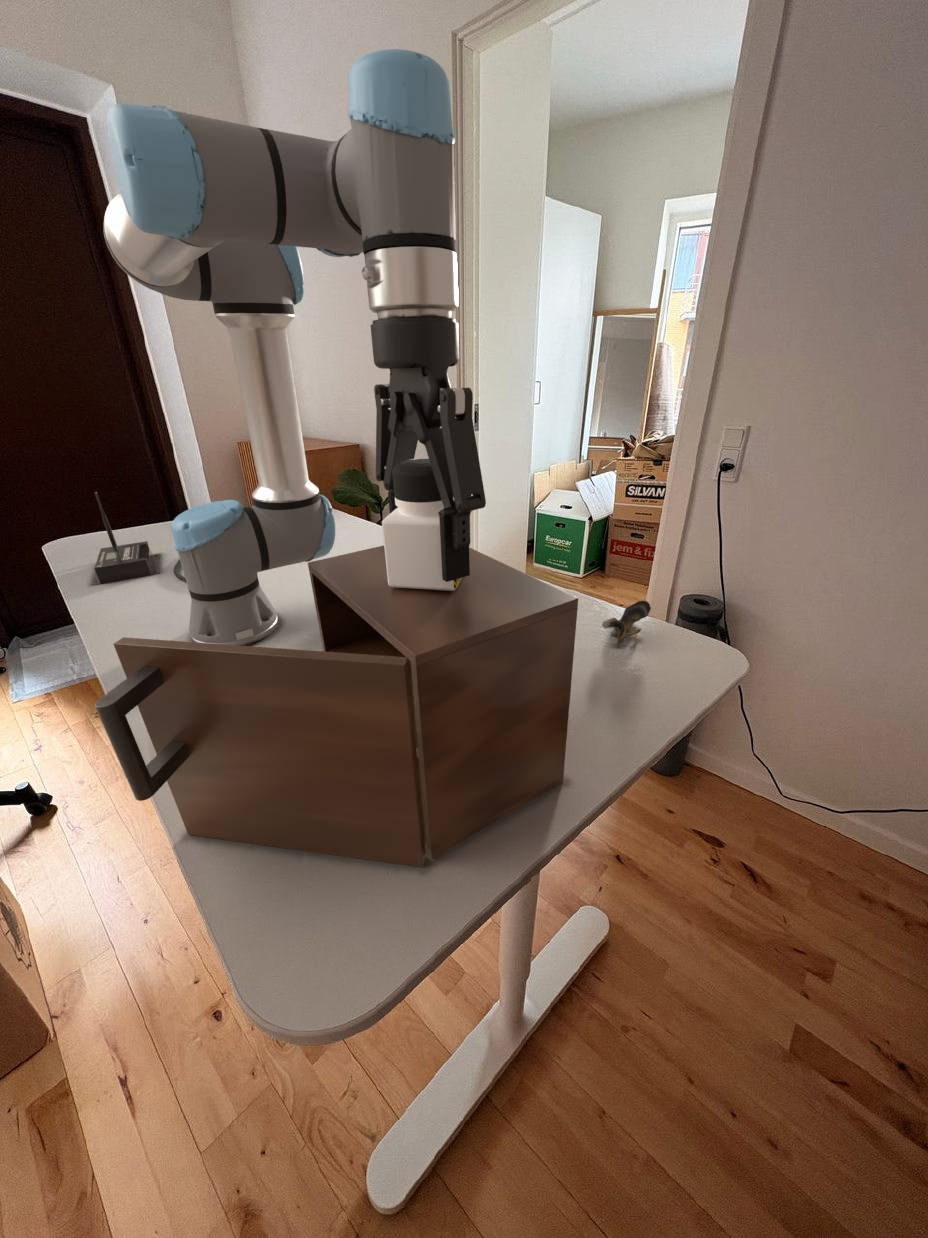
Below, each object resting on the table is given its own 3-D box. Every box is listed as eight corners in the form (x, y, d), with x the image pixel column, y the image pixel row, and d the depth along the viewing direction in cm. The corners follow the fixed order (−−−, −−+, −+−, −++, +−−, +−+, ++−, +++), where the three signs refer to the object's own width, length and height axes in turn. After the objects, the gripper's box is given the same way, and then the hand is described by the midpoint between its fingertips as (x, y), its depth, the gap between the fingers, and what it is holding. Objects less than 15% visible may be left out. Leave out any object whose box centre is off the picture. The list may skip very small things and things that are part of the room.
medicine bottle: (455, 592, 51) (451, 468, 46) (387, 588, 52) (374, 467, 47) (469, 566, 57) (466, 454, 52) (408, 562, 59) (399, 454, 53)
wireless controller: (159, 573, 124) (136, 503, 116) (91, 585, 119) (62, 512, 111) (159, 549, 140) (139, 486, 132) (99, 559, 134) (74, 493, 126)
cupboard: (431, 859, 52) (415, 656, 41) (336, 724, 71) (307, 562, 60) (563, 782, 61) (578, 598, 50) (446, 681, 80) (438, 532, 69)
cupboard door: (407, 925, 46) (380, 710, 35) (149, 884, 50) (54, 681, 39) (426, 857, 52) (408, 657, 41) (194, 826, 56) (123, 637, 45)
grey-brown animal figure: (652, 648, 85) (660, 616, 91) (631, 615, 83) (640, 585, 89) (611, 659, 90) (621, 628, 96) (590, 628, 88) (602, 599, 94)
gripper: (324, 323, 50) (353, 541, 61) (446, 303, 34) (457, 609, 44) (393, 324, 54) (409, 529, 64) (534, 305, 37) (525, 587, 47)
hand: (429, 562), depth 54 cm, fingers closed on medicine bottle, 10 cm apart
